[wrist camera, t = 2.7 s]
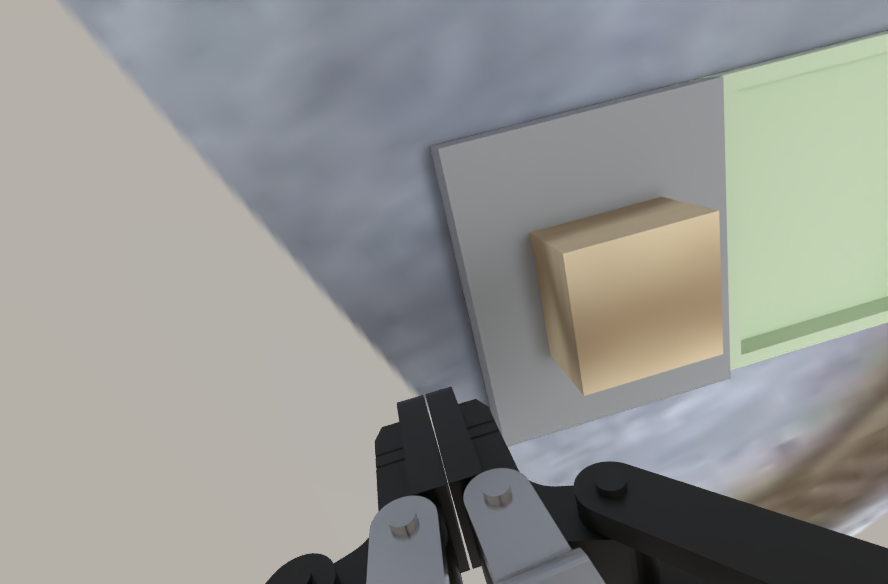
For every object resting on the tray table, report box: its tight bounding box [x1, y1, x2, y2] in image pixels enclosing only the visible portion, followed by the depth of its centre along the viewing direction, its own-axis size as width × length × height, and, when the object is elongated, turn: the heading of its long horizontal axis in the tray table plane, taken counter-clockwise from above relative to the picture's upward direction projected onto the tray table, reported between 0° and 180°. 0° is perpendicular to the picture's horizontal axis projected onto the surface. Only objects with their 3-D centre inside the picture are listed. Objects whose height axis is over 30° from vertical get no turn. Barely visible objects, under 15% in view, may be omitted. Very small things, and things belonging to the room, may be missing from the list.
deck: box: [430, 77, 730, 447], centre depth 19 cm, size 12×10×2 cm
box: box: [694, 30, 888, 370], centre depth 20 cm, size 12×10×2 cm
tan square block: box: [530, 197, 723, 396], centre depth 17 cm, size 5×5×3 cm
